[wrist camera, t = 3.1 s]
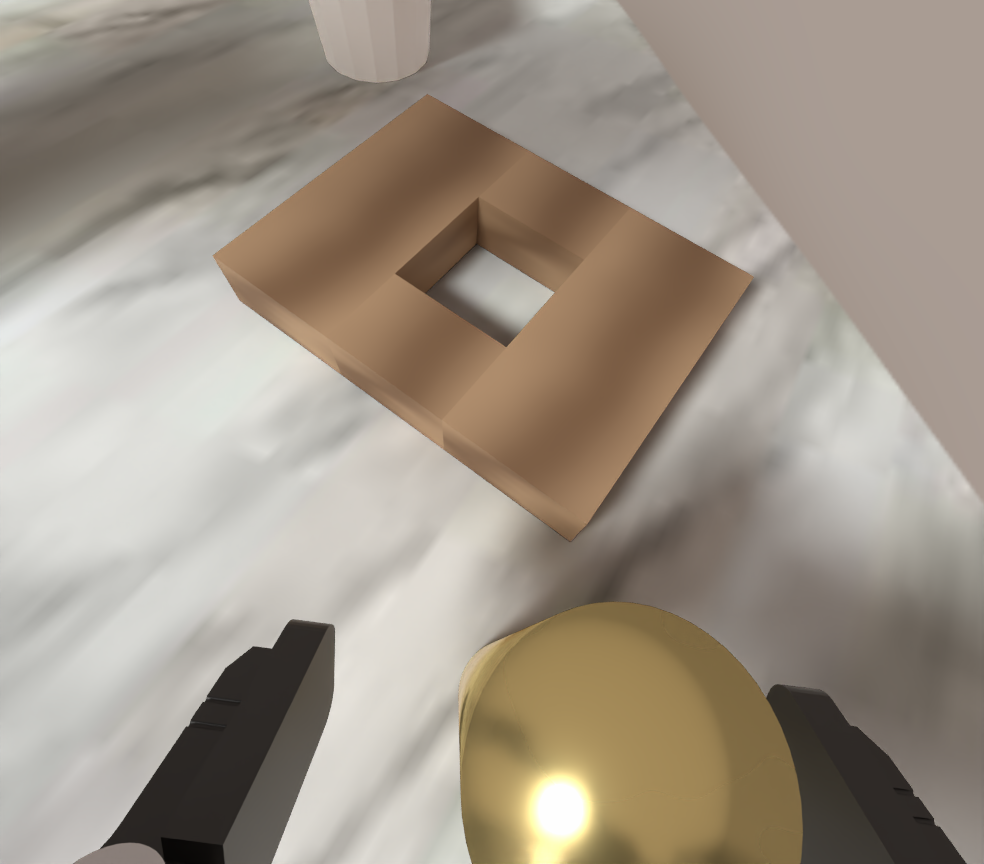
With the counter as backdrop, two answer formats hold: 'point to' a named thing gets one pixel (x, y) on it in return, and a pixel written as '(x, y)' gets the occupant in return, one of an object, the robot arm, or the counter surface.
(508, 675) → the peg
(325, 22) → the shot glass
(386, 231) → the block
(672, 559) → the counter surface
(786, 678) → the counter surface
